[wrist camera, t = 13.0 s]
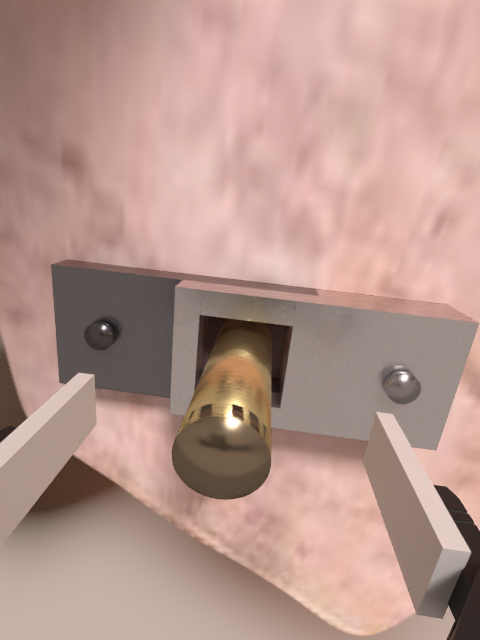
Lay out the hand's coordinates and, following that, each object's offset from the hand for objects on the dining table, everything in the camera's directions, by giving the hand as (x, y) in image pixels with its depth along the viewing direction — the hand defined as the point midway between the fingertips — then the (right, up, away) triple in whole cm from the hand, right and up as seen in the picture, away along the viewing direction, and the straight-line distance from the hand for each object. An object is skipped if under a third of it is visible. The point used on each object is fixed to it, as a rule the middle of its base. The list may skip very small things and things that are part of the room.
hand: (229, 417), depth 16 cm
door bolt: (+1, +3, +10) cm, 10 cm away
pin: (+1, +3, +10) cm, 10 cm away
